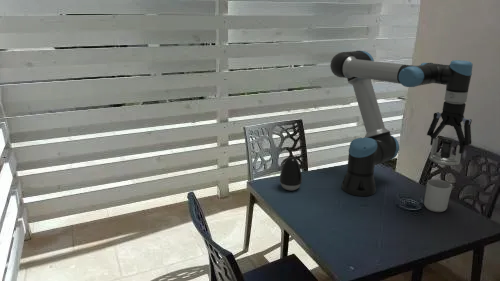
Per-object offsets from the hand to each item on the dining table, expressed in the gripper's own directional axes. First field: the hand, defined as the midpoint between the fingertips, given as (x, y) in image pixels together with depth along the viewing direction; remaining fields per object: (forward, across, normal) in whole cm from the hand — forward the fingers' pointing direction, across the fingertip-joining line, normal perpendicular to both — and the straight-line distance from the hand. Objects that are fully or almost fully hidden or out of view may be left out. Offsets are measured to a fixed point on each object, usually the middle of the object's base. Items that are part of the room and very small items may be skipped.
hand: (445, 156), depth 152 cm
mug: (+23, 0, 0) cm, 23 cm away
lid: (+2, 0, 0) cm, 2 cm away
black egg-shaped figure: (+23, -49, -38) cm, 66 cm away
